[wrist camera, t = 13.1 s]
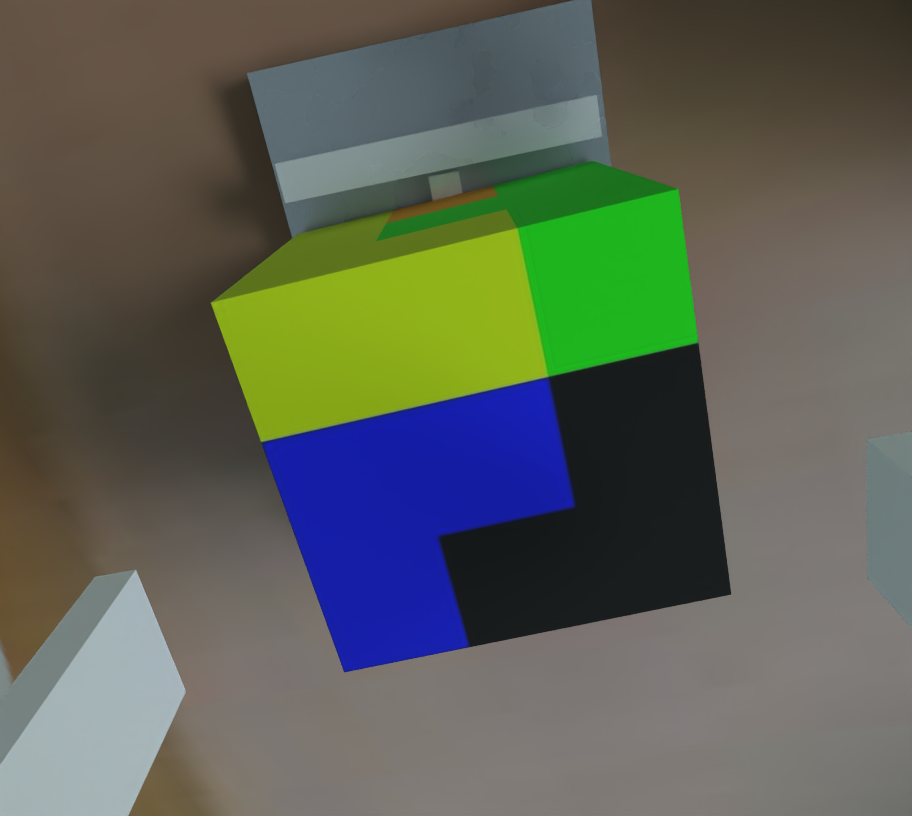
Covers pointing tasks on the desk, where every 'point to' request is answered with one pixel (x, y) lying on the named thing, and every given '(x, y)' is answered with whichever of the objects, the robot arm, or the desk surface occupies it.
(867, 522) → the robot arm
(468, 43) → the rail plate
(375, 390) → the puzzle toy
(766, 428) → the desk surface
